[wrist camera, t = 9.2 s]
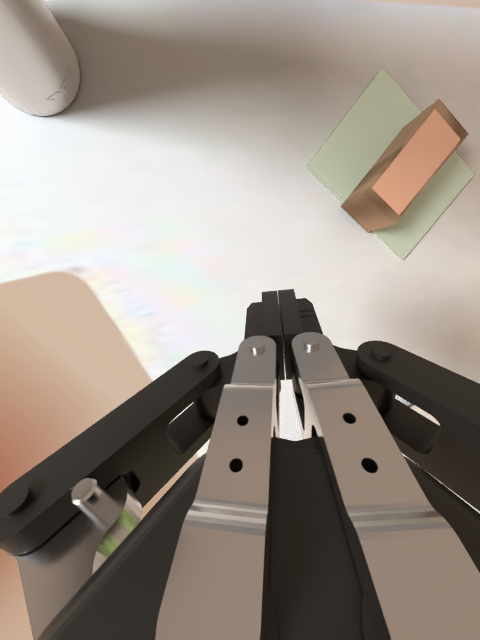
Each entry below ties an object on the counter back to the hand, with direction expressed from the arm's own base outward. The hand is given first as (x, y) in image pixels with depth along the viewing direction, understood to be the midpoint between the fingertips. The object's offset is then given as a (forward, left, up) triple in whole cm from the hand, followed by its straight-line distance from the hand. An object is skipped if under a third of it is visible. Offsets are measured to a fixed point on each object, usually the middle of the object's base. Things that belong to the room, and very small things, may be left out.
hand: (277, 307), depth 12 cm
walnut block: (+6, +16, -18) cm, 25 cm away
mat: (+6, +24, -21) cm, 32 cm away
